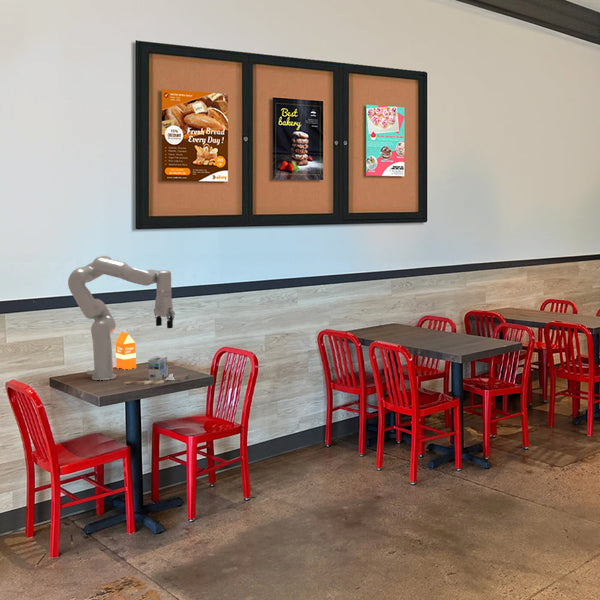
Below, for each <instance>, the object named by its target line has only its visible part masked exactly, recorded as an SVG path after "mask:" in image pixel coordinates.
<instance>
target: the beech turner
mask: <svg viewBox="0 0 600 600" xmlns="http://www.w3.org/2000/svg"><path fill="white" fill-rule="evenodd" d="M164 380H165V379H162V380H140V381H139V380H138V381H137V380H135V381H123V386H127V385H126V384H129V385H144V386H145V385H158V384H164V383H165V381H164Z"/></svg>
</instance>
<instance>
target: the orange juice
mask: <svg viewBox="0 0 600 600" xmlns="http://www.w3.org/2000/svg"><path fill="white" fill-rule="evenodd" d="M115 360H116V361H115V362H116V364H115V365H116V366H115V367H116V369H119V368H122V369H124V370H123V371H126V370H125V369H128V370H133V369H132V368H134V369H137V353H136V341H135V340H134V339H133V338H132V336H131V335H130V333H127V332H123V331H120V334H119V335H118V337H117V339H116V341H115ZM122 369H121V370H122Z"/></svg>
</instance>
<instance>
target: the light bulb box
mask: <svg viewBox="0 0 600 600" xmlns="http://www.w3.org/2000/svg"><path fill="white" fill-rule="evenodd" d="M147 362H148V363H147V364H148V381H150V380H165V379H166V378H167V377H168V376H169V374H168V372H169V370H168V356H164V355H163V356H160V355H158V356H157V355H156V356H153V357H151V358H150V359H148V361H147ZM165 377H166V378H165Z"/></svg>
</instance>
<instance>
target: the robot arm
mask: <svg viewBox="0 0 600 600" xmlns="http://www.w3.org/2000/svg"><path fill="white" fill-rule="evenodd" d="M103 275H106V276H110V277H114V278H118V279H121V280H124V281H126V282H130V283H133V284H137V285H139V286H140V285H141V286H144V287H146V286H150V285H154V284H156V297H155V301H154V309H153V312H154V318H155V325H156V326H155V327H159V326H162V322H163V320H162V317H164V318H166V319H167V320H166V328H167V329H173V327H174V326H173V325H174V319H175V315H176V313H175V311H174V309H173V299H172V271H170V270H166V269H165V270H163V269H162V270H157V269H146V270H142V269H140V268H139V269H138V268H135V267H132V266H130V265H129V264H128V263H126V262H124V261H122V260H121V261H119V260H115V259H112V258H111V257H110V256H108V255H100V256H97V257H96V258H94V259H93V261H92V262H90V263H88V264H87V265H85V266H82V267H77V268H76V269H74V270H72V271H71V273H70V274H69V277H68V280H67V283H68V284H67V286H68V289H69V291H70V293H71V295H72V296H73V298H74V300H75V302H76V304H77V305H78V307H79V309H80V311H81V312H82V314H83V315H84V317H86V318H87V319H88V320H92V319H93V320H94V322H93V323H92V324H91V327H90V334H91V338H92V339H91V340H92V348H93V350H92V352H93V368H94V369H93V370H86V374H87V375H88V376H89V375H91V380H93V381H97V380H100V381H101V380H103V381H110V379H111V380H114V379H116V378H117V374H115V373H114V366H113V365H114V364H113V363H114V362H113V361H114V360H113V345H112V337H111V334H112V333H113V332H114V331H115V330H116V327H117V326H116V324H117V323H116V321H115V319H114V317H113V315H112V313H111V312H110V311H109V309H108V307H107V305H106V303H105V302H104V301H102V300H101V299H99V298H95V297H94V296H93V295H92V293H91V291H90V289H89V288H88V287H87V286H86V284H87V283H91V282H92V281H95V280H96V279H98V278H100V277H102V276H103ZM101 382H102V381H101Z"/></svg>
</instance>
